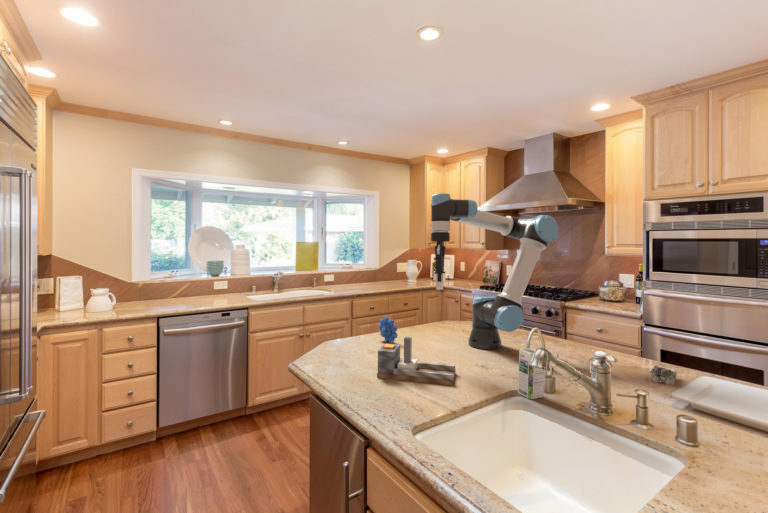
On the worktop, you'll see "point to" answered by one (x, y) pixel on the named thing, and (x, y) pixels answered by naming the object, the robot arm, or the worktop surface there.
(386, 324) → the grapes
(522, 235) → the robot arm
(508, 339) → the worktop surface
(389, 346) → the button
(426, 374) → the rail base
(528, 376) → the syrup box
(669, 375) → the grey ruffled clump
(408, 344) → the carriage
